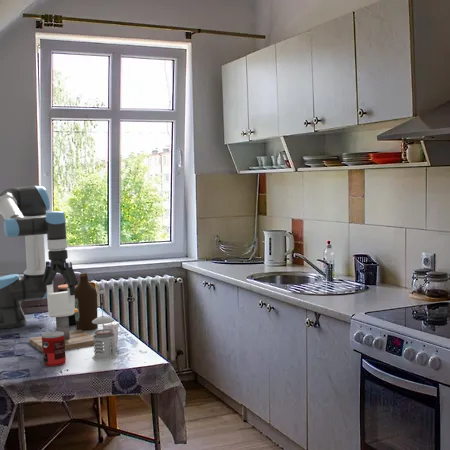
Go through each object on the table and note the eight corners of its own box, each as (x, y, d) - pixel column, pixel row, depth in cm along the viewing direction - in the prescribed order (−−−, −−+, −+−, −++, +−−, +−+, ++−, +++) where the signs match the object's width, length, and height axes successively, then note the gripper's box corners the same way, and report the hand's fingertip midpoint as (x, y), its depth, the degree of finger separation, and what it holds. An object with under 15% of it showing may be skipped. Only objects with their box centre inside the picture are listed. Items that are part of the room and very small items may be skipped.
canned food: (45, 361, 240) (43, 332, 239) (67, 359, 240) (65, 330, 240) (41, 367, 232) (39, 337, 231) (64, 365, 233) (62, 335, 232)
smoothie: (106, 350, 251) (104, 314, 250) (102, 347, 257) (99, 312, 256) (122, 348, 254) (120, 312, 253) (117, 344, 260) (115, 309, 259)
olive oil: (96, 324, 298) (93, 270, 296) (101, 329, 289) (98, 273, 287) (73, 327, 294) (69, 272, 292) (77, 332, 284) (73, 275, 283)
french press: (106, 352, 249) (102, 287, 247) (127, 356, 242) (123, 289, 240) (86, 358, 241) (82, 291, 240) (106, 362, 234) (102, 294, 232)
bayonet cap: (53, 318, 258) (52, 295, 257) (46, 314, 266) (44, 292, 266) (81, 313, 264) (80, 291, 263) (73, 310, 272) (72, 289, 272)
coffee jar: (77, 326, 297) (75, 287, 296) (55, 326, 299) (53, 287, 298) (87, 321, 307) (84, 283, 306) (66, 321, 309) (63, 283, 308)
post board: (29, 343, 269) (27, 315, 268) (80, 334, 281) (79, 307, 280) (44, 353, 250) (42, 323, 250) (99, 344, 262) (97, 315, 261)
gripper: (85, 249, 258) (88, 302, 260) (46, 247, 273) (49, 297, 275) (69, 251, 252) (73, 306, 254) (31, 249, 268) (34, 301, 269)
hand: (61, 302), depth 264 cm, fingers open, 13 cm apart
